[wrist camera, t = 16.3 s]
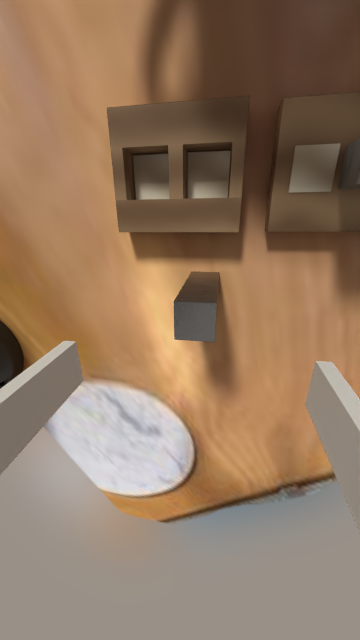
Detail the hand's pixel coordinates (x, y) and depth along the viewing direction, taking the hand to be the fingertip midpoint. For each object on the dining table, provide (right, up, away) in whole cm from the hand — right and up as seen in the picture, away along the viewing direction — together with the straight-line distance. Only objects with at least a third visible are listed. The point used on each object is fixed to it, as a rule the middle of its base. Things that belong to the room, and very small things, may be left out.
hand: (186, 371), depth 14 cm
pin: (+3, +7, +17) cm, 19 cm away
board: (+15, +18, +11) cm, 25 cm away
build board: (0, +18, +13) cm, 23 cm away
